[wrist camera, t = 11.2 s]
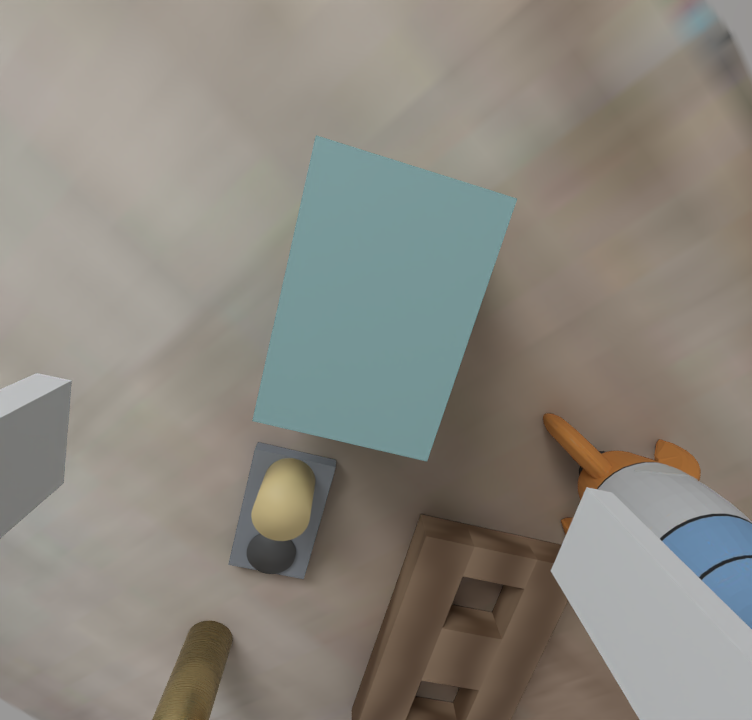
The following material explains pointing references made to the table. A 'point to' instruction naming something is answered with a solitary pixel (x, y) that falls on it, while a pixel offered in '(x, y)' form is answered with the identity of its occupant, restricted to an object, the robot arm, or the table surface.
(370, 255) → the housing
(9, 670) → the table surface
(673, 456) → the toy rocket
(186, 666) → the peg
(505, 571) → the board
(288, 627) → the table surface
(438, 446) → the table surface
